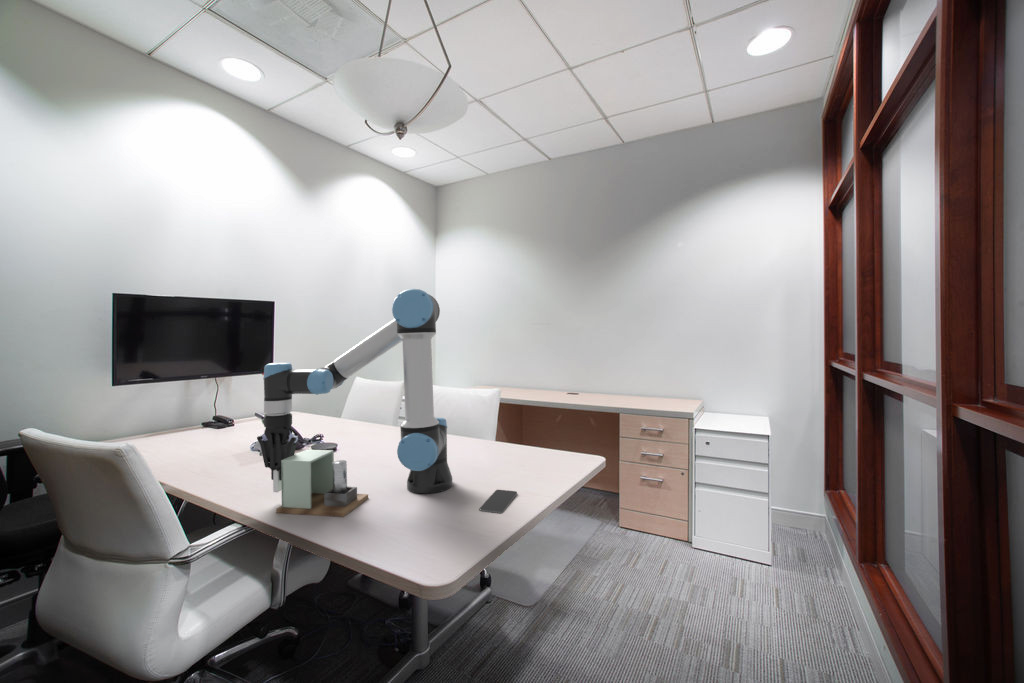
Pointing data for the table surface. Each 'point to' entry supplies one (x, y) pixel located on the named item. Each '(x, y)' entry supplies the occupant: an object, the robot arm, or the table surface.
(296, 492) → the cover
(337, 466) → the stub
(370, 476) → the table surface
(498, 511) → the smartphone
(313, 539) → the table surface
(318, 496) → the board
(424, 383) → the robot arm
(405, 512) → the table surface
